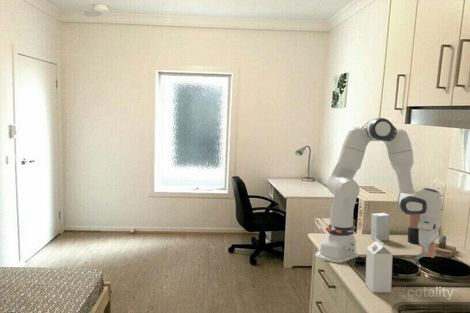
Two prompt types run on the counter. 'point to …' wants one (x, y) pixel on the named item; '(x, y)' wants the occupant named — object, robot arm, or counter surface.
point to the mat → (419, 256)
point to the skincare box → (380, 226)
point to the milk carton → (378, 268)
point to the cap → (430, 250)
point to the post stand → (444, 247)
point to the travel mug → (413, 228)
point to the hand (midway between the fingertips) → (428, 250)
